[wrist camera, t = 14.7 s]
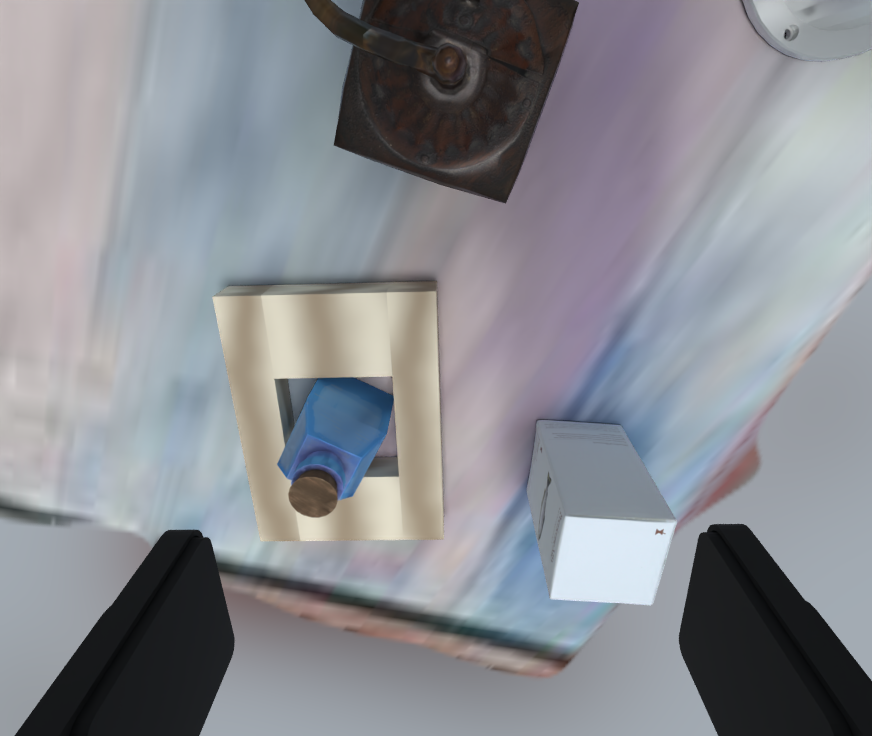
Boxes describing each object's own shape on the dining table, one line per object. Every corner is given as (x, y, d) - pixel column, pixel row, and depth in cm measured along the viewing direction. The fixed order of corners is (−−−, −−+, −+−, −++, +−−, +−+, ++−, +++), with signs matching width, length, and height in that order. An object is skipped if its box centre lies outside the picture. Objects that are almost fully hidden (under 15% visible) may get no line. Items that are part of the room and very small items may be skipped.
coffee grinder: (557, 19, 34) (660, -92, 18) (497, 193, 38) (534, 235, 22) (319, -72, 33) (186, -286, 16) (283, 120, 37) (148, 106, 20)
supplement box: (534, 416, 45) (564, 512, 34) (622, 423, 45) (683, 521, 34) (523, 490, 48) (547, 601, 37) (605, 495, 48) (656, 609, 37)
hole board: (436, 281, 41) (436, 291, 38) (443, 517, 50) (443, 539, 47) (228, 286, 41) (212, 296, 39) (270, 519, 50) (260, 541, 47)
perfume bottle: (394, 396, 45) (377, 480, 34) (364, 453, 47) (338, 549, 36) (325, 364, 44) (284, 440, 33) (298, 424, 46) (250, 514, 35)
